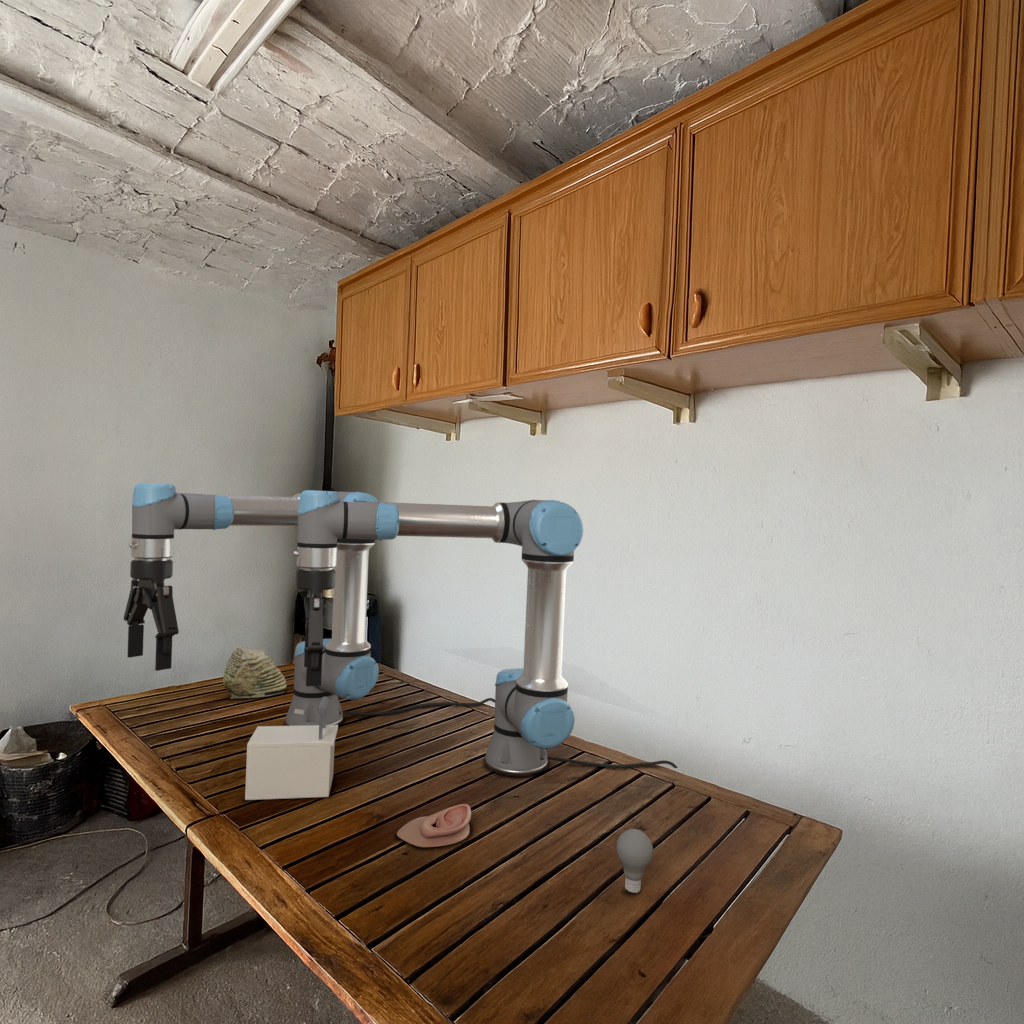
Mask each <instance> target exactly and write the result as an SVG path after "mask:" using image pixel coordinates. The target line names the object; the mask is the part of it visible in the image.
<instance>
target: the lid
mask: <svg viewBox="0 0 1024 1024" xmlns="http://www.w3.org/2000/svg"><path fill="white" fill-rule="evenodd" d="M328 702H329V698H328V697H326V696H325V697H323V698H322V699H321V702H320V705H319V707H318V710H317V713H318V714H319V715H320V716H319V725H308V726H286V725H266V726H265V725H264V726H263V725H258V726H257V727H256V728H255V730H254V731H253V734H252V735H251V737H250V739H249V740H248V742H247V743H246V749H247V748H268V747H308V746H334V747H335V745H334V743H336V738H337V734H338V731H339V726H338V725H326V708H327V705H328Z"/></svg>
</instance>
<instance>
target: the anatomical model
mask: <svg viewBox="0 0 1024 1024" xmlns="http://www.w3.org/2000/svg"><path fill="white" fill-rule="evenodd" d="M471 819H472V809H471V806H470V805H469V804H468V803H462V804H461V803H460V804H456V805H452V806H450V807H447V808H445V809H442V810H439V811H437V812H436V813H433V814H431V815H428V816H426V815H425V816H420V817H417V818H414V819H412V820H410V821H408V822H407V823H405V824H404V825H402V826H401V827H400V828H399V829H398V830H397V832H396V836H397V837H398V838H399V839H401V840H402V841H403V842H406V843H408V844H409V845H413V846H415V847H419V848H435V847H442V846H443V847H444V846H448V845H449V846H450V845H453V844H456V843H458V842H461V841H463V840H465V839H466V838H468V836H469V835H470V832H471V831H470V830H471V829H470V828H471V827H470V824H469V823H470V821H471Z"/></svg>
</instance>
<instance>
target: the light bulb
mask: <svg viewBox="0 0 1024 1024" xmlns="http://www.w3.org/2000/svg"><path fill="white" fill-rule="evenodd" d="M615 849H616V854H617V857H618V859H619V861H620V863H621V865H622V867H623V873H624V874H623V875H624V876H625V878H624V888H625V890H627V891H628V892H630V893H634V894H635V893H639V892H640V891H641V889H642V887H641V886H642V879H643V877H644V875H645V871H646V868H647V867H648V866H649V864H650V863H651V861H652V859H653V855H654V847H653V843H652V841H651V838H649V836H648V835H647V834H646V833H645V832H643V831H642V830H641V829H636V828H629V829H627V830H625V831H623V832H622V833H621V834H620V835H619V837H618V839H617V841H616V847H615Z"/></svg>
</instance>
